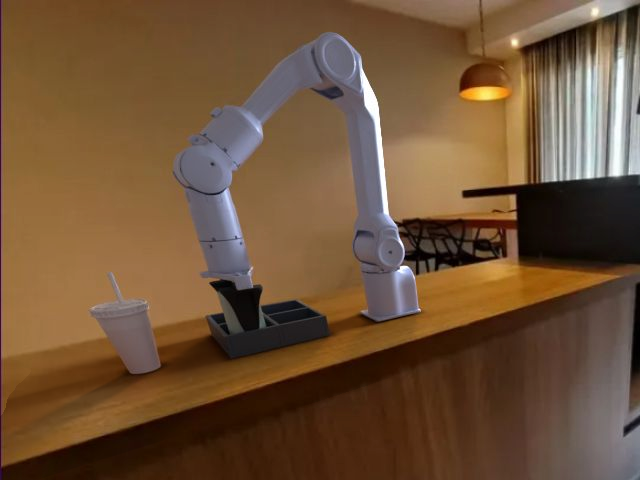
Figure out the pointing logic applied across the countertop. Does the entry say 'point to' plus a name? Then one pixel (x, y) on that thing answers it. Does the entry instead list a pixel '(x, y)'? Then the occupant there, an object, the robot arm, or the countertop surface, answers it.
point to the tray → (271, 329)
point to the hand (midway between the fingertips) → (247, 326)
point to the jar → (231, 317)
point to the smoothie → (129, 330)
